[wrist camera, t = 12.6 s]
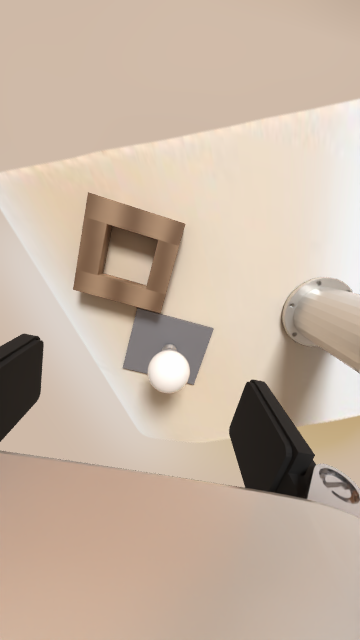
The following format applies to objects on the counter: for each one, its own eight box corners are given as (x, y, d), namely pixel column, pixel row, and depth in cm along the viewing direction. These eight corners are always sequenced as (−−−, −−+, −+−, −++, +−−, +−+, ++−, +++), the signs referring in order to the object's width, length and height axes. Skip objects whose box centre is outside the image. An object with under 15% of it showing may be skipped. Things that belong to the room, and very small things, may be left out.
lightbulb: (178, 369, 42) (181, 408, 32) (147, 358, 42) (138, 394, 31) (192, 340, 41) (198, 371, 30) (159, 328, 40) (154, 356, 29)
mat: (213, 328, 41) (213, 328, 40) (193, 383, 44) (193, 384, 44) (137, 307, 39) (137, 308, 39) (123, 366, 42) (122, 367, 42)
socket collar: (184, 225, 35) (185, 223, 32) (161, 308, 39) (160, 313, 36) (95, 197, 34) (88, 192, 31) (80, 286, 38) (73, 289, 35)
